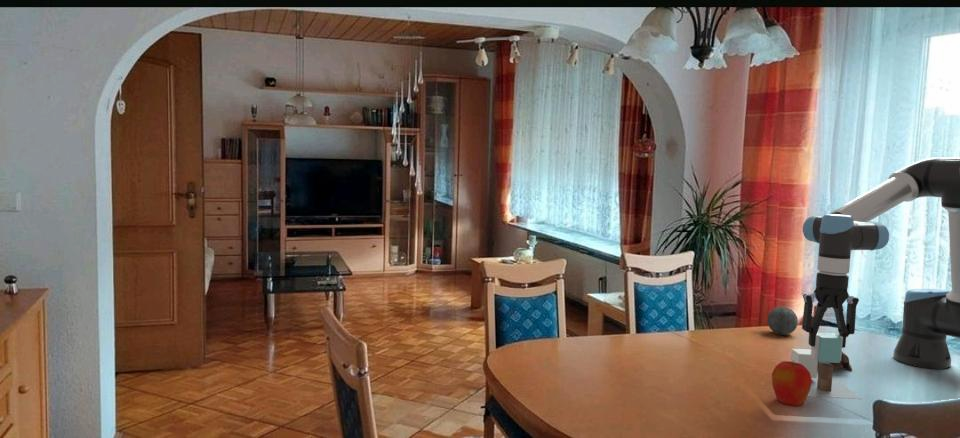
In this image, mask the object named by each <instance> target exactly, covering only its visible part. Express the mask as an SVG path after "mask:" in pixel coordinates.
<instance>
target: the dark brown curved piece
mask: <svg viewBox="0 0 960 438" xmlns="http://www.w3.org/2000/svg"><path fill="white" fill-rule="evenodd" d="M822 363H830V362H822ZM830 364H831V365H833V370H836V369H842V370H843V369H845V370H846V369H848V370H849V371H853V367H852V365H851V364H850V358H849V357H848V355H847V354H846V353H844V352H843V351H842V354H841V361H840V363H830ZM818 368H819V361H818V365H817V369H818Z"/></svg>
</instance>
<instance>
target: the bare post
mask: <svg viewBox="0 0 960 438" xmlns="http://www.w3.org/2000/svg"><path fill="white" fill-rule="evenodd" d="M833 371H834V369H833V365H831V364H830V363H822V362H819V368H817V373H818V381H817V388H818V389H819V390H821V391H831V388H832V377H833V375H834V373H833Z"/></svg>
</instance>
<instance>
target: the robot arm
mask: <svg viewBox="0 0 960 438" xmlns="http://www.w3.org/2000/svg"><path fill="white" fill-rule="evenodd" d="M923 197H924V198H927V197H931V198H932V197H935V198H940V199H941V200H940V201H941V207H942V208H943V209H944V210H946V211H947V212H948V213H947V215H948V235H949V239H948V240H949V254H950V255H949V259H950V275H951V276H950V277H951V280H950V282H951V289H950V290H947V289H938V288H936V289H935V288H913V289H909V290H907V291H906V292H905V296H904V301H903V313H902V314H903V315H902V329H901V335H900V337H899V339H898V341H897V343H896V345H895V348H894V350H893V359H894V360H896V361H898V362H900V363H903V364H906V365H909V366H915V367H919V368H925V369H936V370H937V369H939V370H940V369H941V370H943V369H944V370H945V369H949V368H950V367H951V366H952V358H951V353H950V350H949V345H948V342H947V336H949V337H953V338H956V339H960V157H939V156H938V157H936V156H935V157H929V158H925V159H922V160H919V161H916V162H913V163H911V164H909V165H906V166H905V167H902V168H901V169H899V170H896V171H894V172H893V173H891V174H890V175H889V177H888V178H887V180H886V181H884V182H882V183H881V184H879V185H877V186H876V187H874V188H872V189H870V190H869V191H866V192H865V193H863V194H860V195H859V196H858V197H856V198H854V199H853V200H850V201H849V202H847V203H846V204H844V205H841V206H840V207H837V208H836V209H834V210H832V211H831V212H830V213H829V212H828V213H827V214H824V215H822V216H820V215H815V216H809V217H807V218H806V220H805V221H804V222H803V224H802V234H803V236H804V239H806V240H807V241H810V242H814V243H816V244H818V256H817V257H818V258H817V265H816V266H817V268H816V269H817V271H818V272H817V273H816V277H815V278H816V280H815V289H814V291H813V292H812V293H808V294H807V293H804V294H803V295H802V298H803V301H804V304H803V305H804V306H803V314H802V322H801V323H802V325H801V329H802V330H803V331H805V332H806V333H808V345H809V346H810V348H811V357H812V358H814V359H816V360H818V351H819V338H820V335H818V334H817V333H819V329H820V327H821V324H822V321H823V318H824V316H825V313H826V312H827V310H828V309H831V308H832V309H833V311H834V316H835V317H834V318H835V321H836V327H837V331H838V333H834V334H835V335H837V336H839V337H840V338H842V345H841V354H842V352H843V349H844V348H845V347H846V346H847V345H846V343H847V338H848V337H849V335H854V334H855V333H856V332H855V330H856V319H857V318H856V314H857V306H858V303H859V301H860V299H859V298H858V297H856V296H854V295H850V294H849V292H848V288H849V277H850V276H849V275H848V274H849V273H850V265H851V253H852V251H870V252H871V251H872V252H873V251H876V250H881V249H883V248H885V247H886V246H887V245H888V243H889V241H890V232H889V229H888V228H887V226H886V225H884V224H883V223H881V222H876V221H872V220H874V219H876V218H877V217H879V216H881V215H883V214H884V213H887V212H888V211H889V210H892V209H893V208H895V207H897V206H898V205H900V204H902V203H905V202H908V203H909V202H912V201H915V200H916V199H918V198H923ZM815 299H816V301H817V304H816V310H815V312H814V313H813V310H814V309H813V307H814V302H815ZM845 302H846V318H845V313H844V306H843V304H844V303H845ZM813 314H814V315H813ZM812 316H813V317H812ZM845 319H846V320H845ZM840 361H841V357H840ZM948 367H949V368H948Z"/></svg>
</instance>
